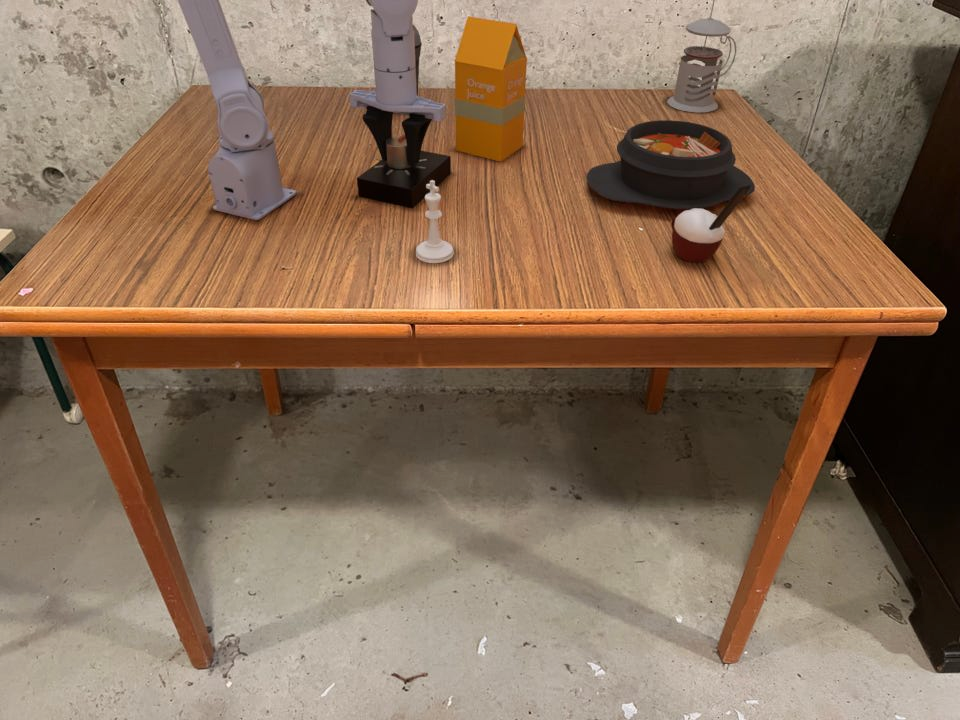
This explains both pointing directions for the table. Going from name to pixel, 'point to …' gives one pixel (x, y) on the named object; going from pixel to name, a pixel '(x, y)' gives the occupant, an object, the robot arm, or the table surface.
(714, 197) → the casserole
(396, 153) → the knob
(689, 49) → the french press
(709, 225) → the rice bowl
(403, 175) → the hob panel
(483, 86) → the orange juice
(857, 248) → the table surface
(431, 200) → the chess piece
